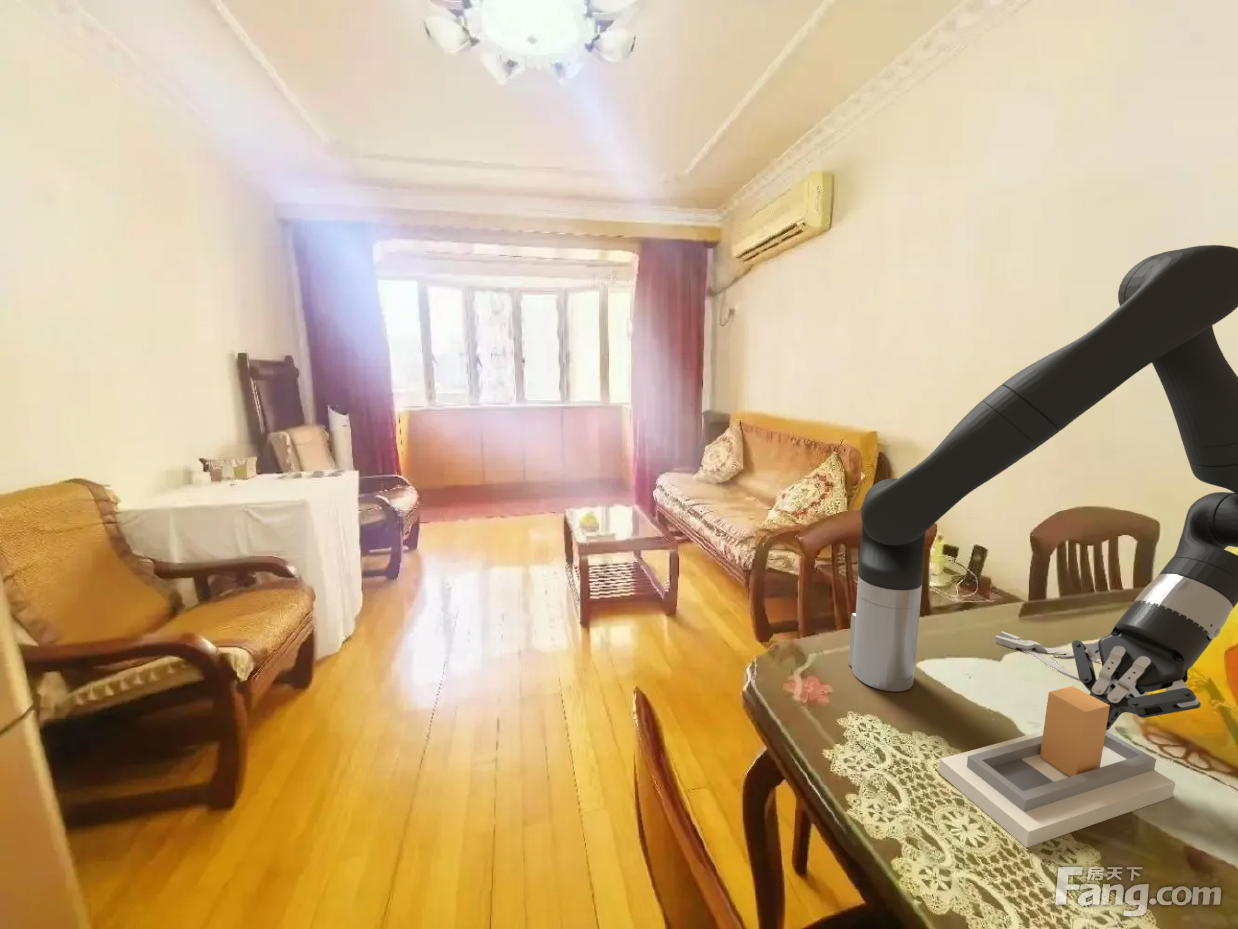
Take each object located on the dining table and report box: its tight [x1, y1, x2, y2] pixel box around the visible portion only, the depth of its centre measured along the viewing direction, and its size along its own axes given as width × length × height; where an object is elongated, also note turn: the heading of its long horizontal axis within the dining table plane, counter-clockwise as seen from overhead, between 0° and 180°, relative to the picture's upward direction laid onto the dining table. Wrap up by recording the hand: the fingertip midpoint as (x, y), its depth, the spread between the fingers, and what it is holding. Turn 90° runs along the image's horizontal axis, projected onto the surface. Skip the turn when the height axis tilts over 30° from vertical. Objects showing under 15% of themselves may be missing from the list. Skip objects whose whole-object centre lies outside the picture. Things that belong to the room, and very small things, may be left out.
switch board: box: [938, 730, 1176, 848], centre depth 63 cm, size 11×23×4 cm, turn 106°
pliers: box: [994, 630, 1101, 681], centre depth 91 cm, size 10×2×15 cm
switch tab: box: [1040, 685, 1110, 777], centre depth 63 cm, size 4×4×9 cm
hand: (1088, 726), depth 64 cm, fingers closed
